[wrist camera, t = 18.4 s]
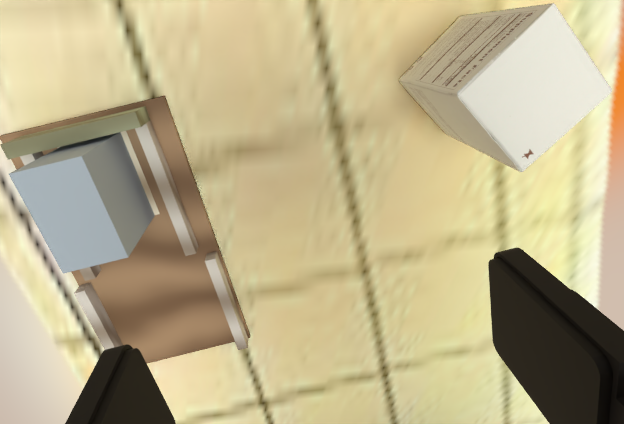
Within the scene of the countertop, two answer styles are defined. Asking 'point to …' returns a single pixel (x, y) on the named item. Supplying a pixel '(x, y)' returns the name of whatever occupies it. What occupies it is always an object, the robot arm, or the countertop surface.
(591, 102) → the supplement box
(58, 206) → the slider block
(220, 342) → the track
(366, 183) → the countertop surface
